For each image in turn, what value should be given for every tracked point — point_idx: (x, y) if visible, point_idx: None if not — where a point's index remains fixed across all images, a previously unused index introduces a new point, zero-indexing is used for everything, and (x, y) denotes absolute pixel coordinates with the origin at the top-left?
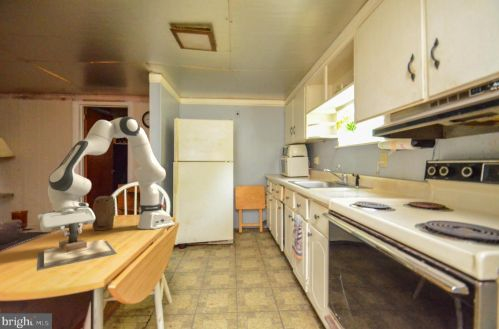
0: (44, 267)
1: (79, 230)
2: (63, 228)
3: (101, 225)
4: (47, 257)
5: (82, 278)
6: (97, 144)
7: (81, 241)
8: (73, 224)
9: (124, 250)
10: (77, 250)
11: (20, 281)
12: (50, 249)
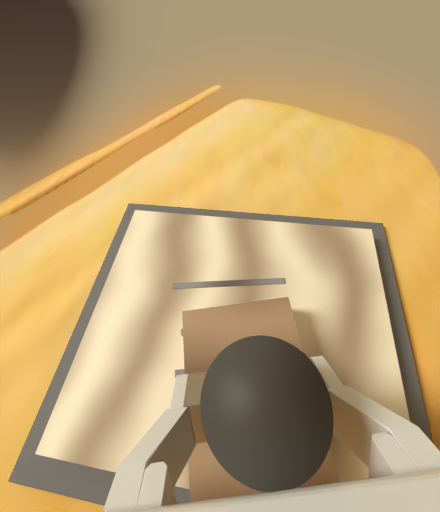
0: None
1: (195, 382)
2: (381, 421)
3: None
4: (371, 296)
5: (264, 124)
6: None
7: (201, 353)
8: (268, 345)
9: (82, 236)
10: None
11: (408, 187)
12: None
